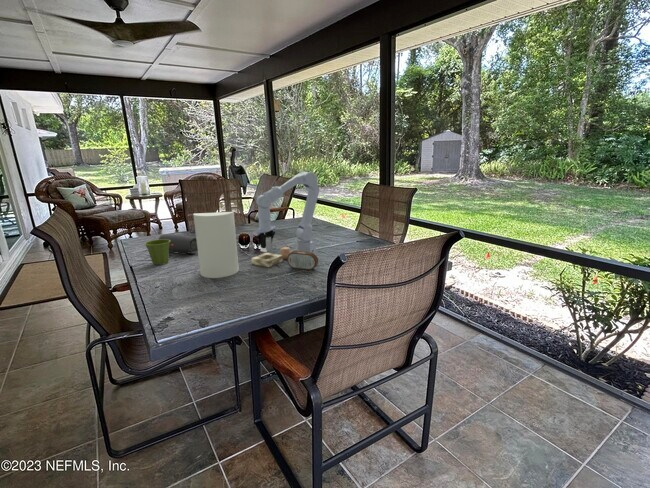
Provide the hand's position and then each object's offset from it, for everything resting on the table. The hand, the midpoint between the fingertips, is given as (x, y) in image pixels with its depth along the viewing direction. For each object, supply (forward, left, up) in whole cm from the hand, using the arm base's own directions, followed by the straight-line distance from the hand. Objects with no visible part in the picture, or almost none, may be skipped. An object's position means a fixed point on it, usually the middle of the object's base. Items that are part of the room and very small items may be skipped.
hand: (266, 246), depth 167 cm
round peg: (-3, -11, -8) cm, 14 cm away
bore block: (0, 0, -8) cm, 8 cm away
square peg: (0, 0, -2) cm, 2 cm away
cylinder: (+11, +21, -8) cm, 25 cm away
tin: (-21, -1, -9) cm, 23 cm away
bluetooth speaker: (+56, +10, -9) cm, 58 cm away
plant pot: (+48, +27, -8) cm, 56 cm away
